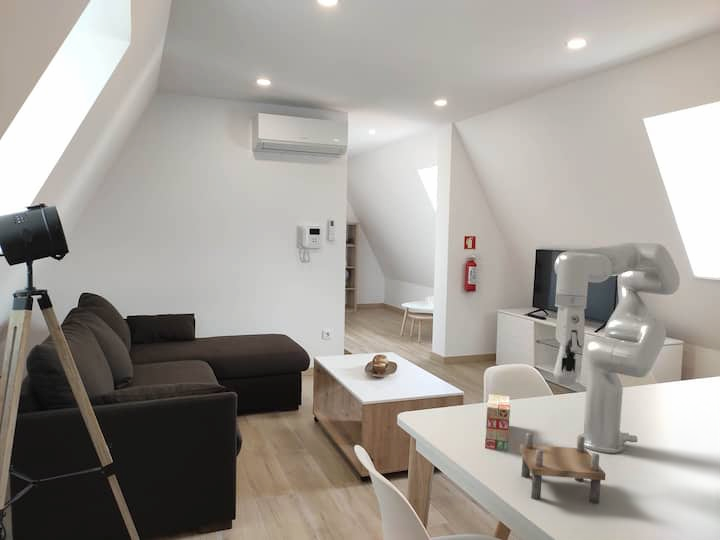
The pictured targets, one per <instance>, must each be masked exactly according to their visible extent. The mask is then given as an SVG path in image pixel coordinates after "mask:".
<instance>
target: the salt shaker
mask: <svg viewBox="0 0 720 540" xmlns="http://www.w3.org/2000/svg"><path fill="white" fill-rule="evenodd" d="M567 346H571V344H568V345H567ZM558 351H559V353H558V354H557V358H556V361H555V362H556V363H555V366H554V370H553V376H554V379H555V382H556V383H557V384H560V385H566V386H572V385H574V383H575V382H576V380H577V378H578V370H577V361H576V360H577V359H576V360H575V373H574V371H573V368H572V371H566V369H565V367H564V369H563V371H562V358H564V346H563V345H562V344H561V346H560V350H559V349H558ZM567 351H568V349H567Z"/></svg>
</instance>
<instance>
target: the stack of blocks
mask: <svg viewBox="0 0 720 540" xmlns="http://www.w3.org/2000/svg"><path fill="white" fill-rule="evenodd" d="M486 408H487V409H486V423H485V424H486V425H485V427H486V429H485V430H486V431H485V439H484V449H490V450H495V451H496V450H497V451H504V452H507V451H508V446H509V432H510V418H511V417H510V414H511V400H510V396H509V395H500V394H491V393H489V394H488V401H487V406H486Z"/></svg>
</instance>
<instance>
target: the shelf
mask: <svg viewBox="0 0 720 540" xmlns="http://www.w3.org/2000/svg"><path fill="white" fill-rule="evenodd" d="M533 439H534V434H533V433H532V432H526V435H525V444H524V443H523V444H522V443H521V444H520V443H519V451H520V454H521V455H522V464H521V478H525V479H527V478H532V479H531V480H532V481H531V495H530V497H531V499H533V500H536V501H539V500H541V496H542V495H541V494H542V493H541V492H542V479H543V477H555V478H556V477H557V478H558V477H559V478H568V479H569V478H570V479H574V481H576V482H579V483H583V482H584V480H590V488H589V503H591V504H592V505H599V504H600V493H601V482H602V481H606V475H607V474H606V472H605V471H604V470H603V469H602V467H601V466H600V465H599V464H600V454H599V453H596V452H595V453H591V454H590V453H589V451H588V450H587V448H585V447H584V439H585V438H584V437H582V436H579V435H577V438H576V439H577V440H576V442H577V443H576V447H567V446H566V447H565V446H554V445H553V446H552V445H551V446H549V445H538V444H537V445H535V444H533ZM531 476H532V477H531Z"/></svg>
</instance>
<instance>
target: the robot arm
mask: <svg viewBox="0 0 720 540" xmlns="http://www.w3.org/2000/svg"><path fill="white" fill-rule="evenodd" d="M553 267H554V272H555V274H556V286H555V287H556V288H555V302H554V306H555V307H557V316H556V325H555V340H556V341H557V342H558V343H559V344H558V350H557V351H558V352H557V353H558V354H559V350H560V346H561V344H562V345H563V346H564V358H562V371H563V369H564V367H565V369H566V371H572V368H573V371H574V373H575V360H577V352H578V348H579V349H581V348H584V346H585V349H584V352H585V353H584V355H585V363H586V365H585V366H586V390H585V391H586V392H585V394H586V395H585V405H584V422H583V423H584V424H583V433H580V434H579V435H578V436H582V437H584V438H585V439H584V448H585V449H589V450H592V451H595V452H598V453H607V454H618V453H621V452H623V451H625V449H626V448H625V443H627V442H629V443H638V436H637V435H633V434H630V433H629V432H622V431H621V419H622V405H623V404H622V403H623V385H622V384H623V383H622V382H621V380H620V377H619V376H618V375H623V376H627V377H633V378H644V377H646V376H648V374H649V373H650V372H651V370H652V368H653V366H654V364H655V362H656V361H657V358H658V357H659V355H660V353H661V351H662V349H663V346H664V345H665V341H666V338H667V337H666V336H667V328H666V326H665V324H664V322H663V321H662V320H661V319H659V318H656V317H653V316H648V314H649V308H648V305H647V304H646V301H645V300H644V299H643V298H642V296H641V295H640V294H639V293H641V294H642V293H643V294H653V295H654V294H655V295H664V296H669V295H673V294H675V293H676V292H677V291H678V289H679V287H680V283H681V282H680V281H681V280H680V279H681V278H680V277H681V276H680V273H679V271H678V268H677V266H676V264H675V261H674V260H673V257H672V255H671V254H670V252H669V250H668V249H667V248H666V247H665V246H664V245H662V244H661V243H655V242H653V243H649V242H624V243H620V244H619V243H618V244H614V245H610V246H601V247H600V246H599V247H591V248H582V249H581V248H579V249H573V250H567V251H564V252H561V253H560V254H558V256H557V257H556V259H555V261H554V266H553ZM615 276H617V295H618V304H617V305H616V307H615V310H614V311H613V312H612V314H611V316H610V317H609V319H608V321H607V323H606V325H605V327H604V330H603V331H604V336H596V337H592V338H591V339H590V340H588V341H587V342H586V345H585V331H586V330H585V329H586V328H585V325H586V324H585V323H586V322H585V321H586V320H585V309H587V300H588V299H587V298H588V289H589V288H588V287H589V283H603V282H605V281H607V280H608V279H609V278H610V277H615ZM568 344H571V346H567V345H568ZM567 349H568V351H567Z"/></svg>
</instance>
